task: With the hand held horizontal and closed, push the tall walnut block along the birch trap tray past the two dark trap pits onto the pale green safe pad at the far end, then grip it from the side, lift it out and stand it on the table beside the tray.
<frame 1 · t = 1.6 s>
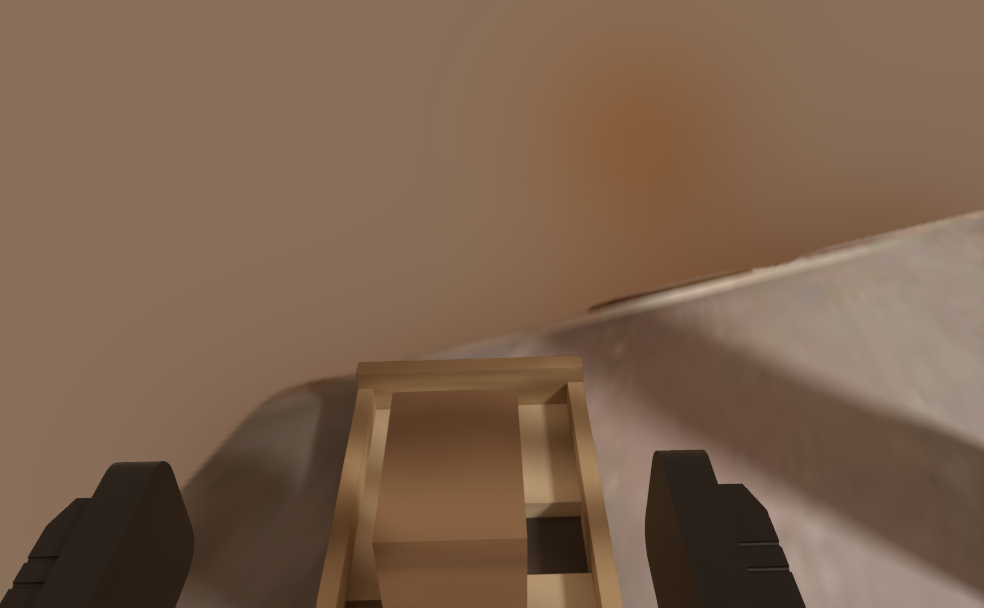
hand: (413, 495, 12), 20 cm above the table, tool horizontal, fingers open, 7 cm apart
trap tray: (471, 575, 35), on the table
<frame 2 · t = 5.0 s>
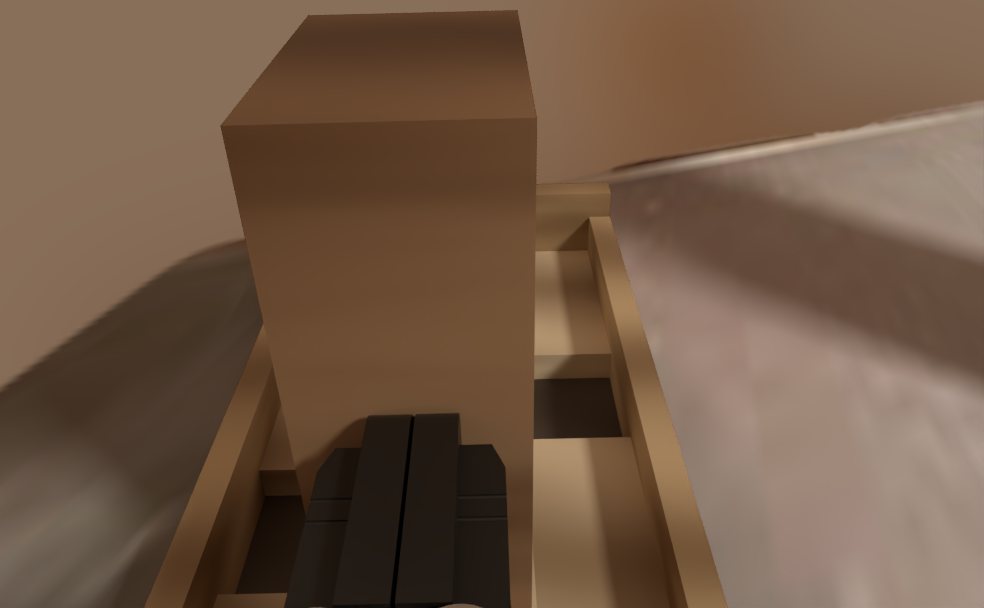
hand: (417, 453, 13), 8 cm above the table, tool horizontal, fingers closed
walnut block: (441, 557, 19), point 1 cm above the table, touching gripper, trap tray
trap tray: (452, 447, 24), on the table
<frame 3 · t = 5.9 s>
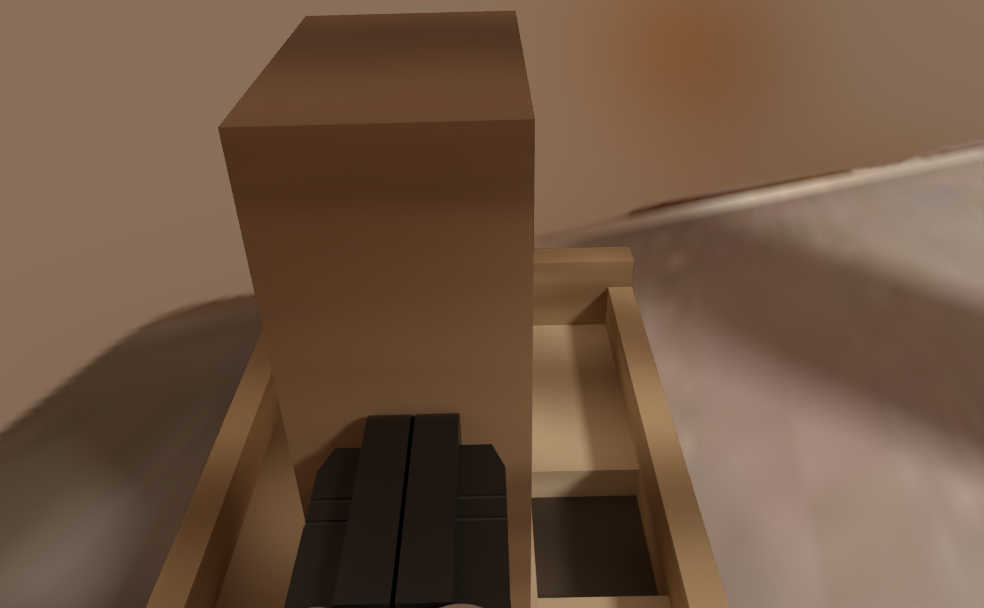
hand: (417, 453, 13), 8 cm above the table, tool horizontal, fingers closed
walnut block: (440, 557, 19), point 1 cm above the table, touching gripper, trap tray
trap tray: (446, 596, 19), on the table
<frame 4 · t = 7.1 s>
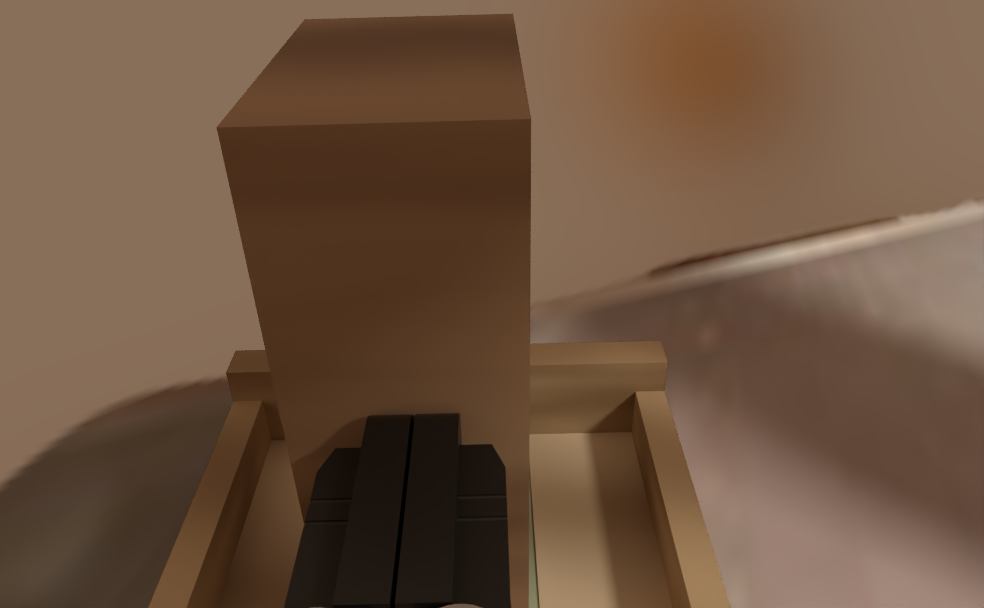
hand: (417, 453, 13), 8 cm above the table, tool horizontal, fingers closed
walnut block: (439, 559, 19), point 1 cm above the table, touching gripper, trap tray
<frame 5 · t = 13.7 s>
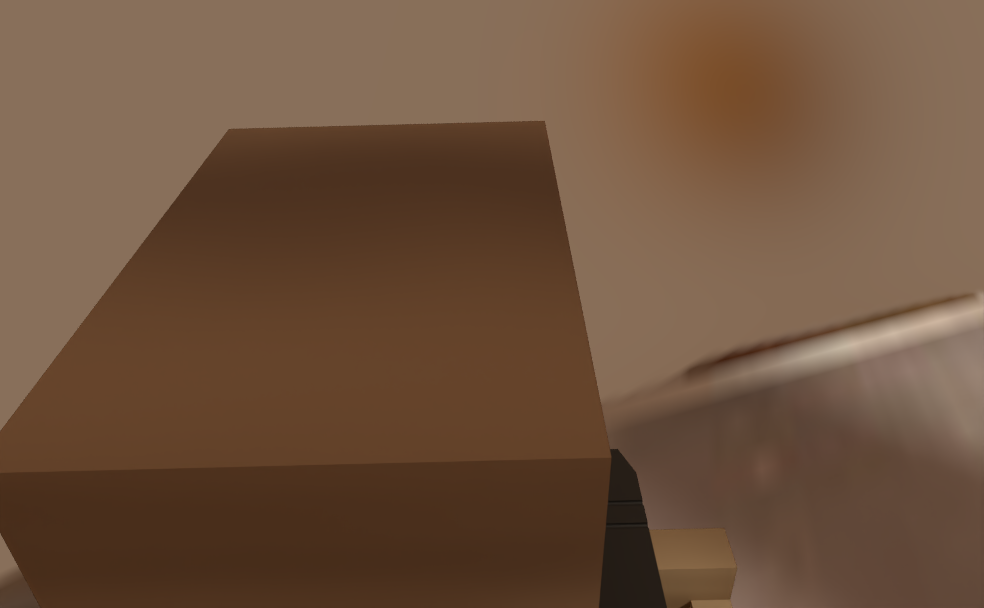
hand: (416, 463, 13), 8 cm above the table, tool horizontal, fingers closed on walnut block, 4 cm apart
when the fingers open (8 cm above the table, at t = 18.4 s): walnut block drops 1 cm, on the table.
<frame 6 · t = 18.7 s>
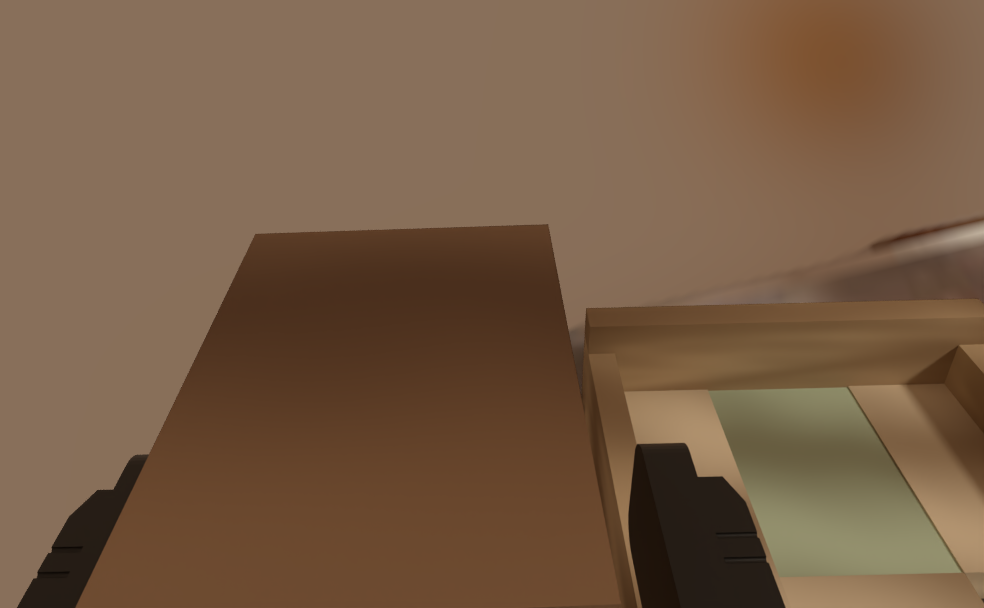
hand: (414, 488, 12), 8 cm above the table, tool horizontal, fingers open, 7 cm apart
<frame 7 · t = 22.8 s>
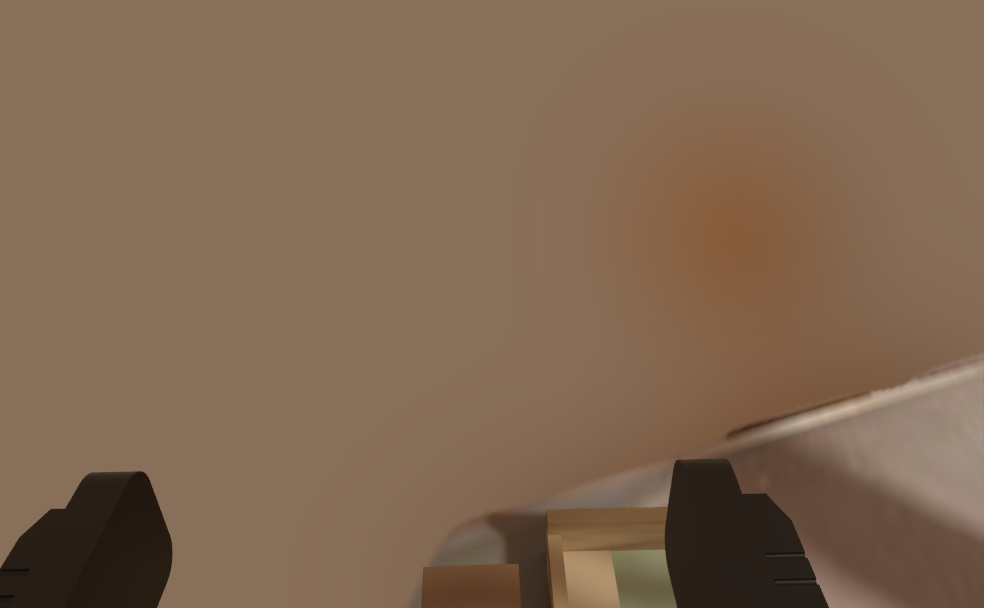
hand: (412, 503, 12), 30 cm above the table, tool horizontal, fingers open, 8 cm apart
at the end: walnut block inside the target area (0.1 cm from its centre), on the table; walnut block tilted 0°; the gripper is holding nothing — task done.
